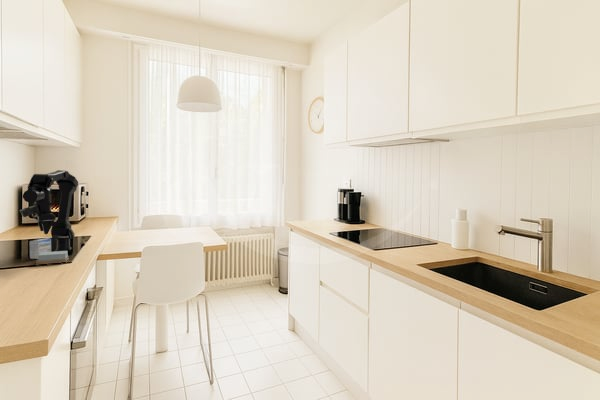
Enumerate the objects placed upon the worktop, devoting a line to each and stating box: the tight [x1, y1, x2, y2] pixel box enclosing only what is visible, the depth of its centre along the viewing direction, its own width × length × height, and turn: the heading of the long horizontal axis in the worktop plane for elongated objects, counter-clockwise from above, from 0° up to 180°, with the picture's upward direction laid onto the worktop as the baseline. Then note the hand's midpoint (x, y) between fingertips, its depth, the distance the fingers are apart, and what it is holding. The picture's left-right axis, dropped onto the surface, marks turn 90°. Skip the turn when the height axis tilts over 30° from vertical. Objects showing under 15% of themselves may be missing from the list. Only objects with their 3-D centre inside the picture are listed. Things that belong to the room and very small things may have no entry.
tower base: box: [35, 255, 69, 266], centre depth 151 cm, size 7×11×2 cm, turn 118°
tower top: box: [38, 250, 69, 261], centre depth 151 cm, size 6×10×2 cm, turn 118°
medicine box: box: [29, 237, 52, 260], centre depth 159 cm, size 8×4×9 cm, turn 179°
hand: (44, 232), depth 156 cm, fingers open, 9 cm apart
